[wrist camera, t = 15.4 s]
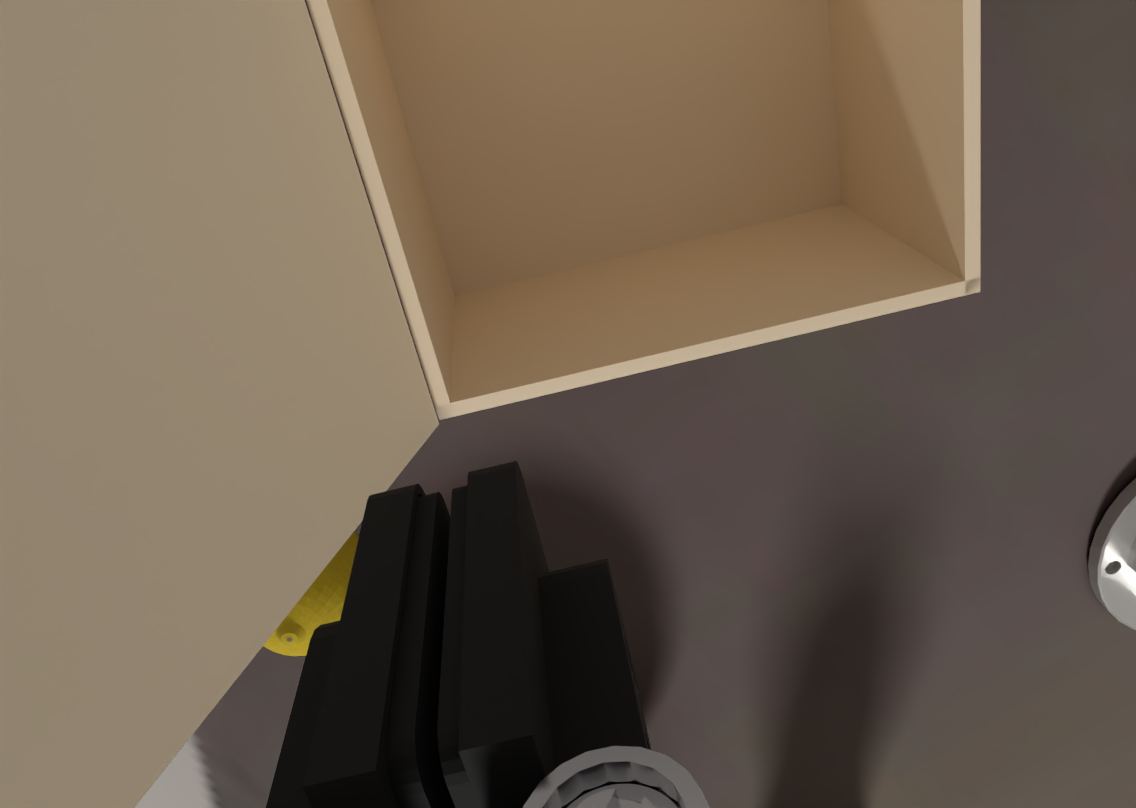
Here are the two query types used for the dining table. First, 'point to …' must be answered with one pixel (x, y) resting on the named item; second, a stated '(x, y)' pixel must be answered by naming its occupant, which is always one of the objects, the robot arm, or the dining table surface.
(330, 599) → the lemon
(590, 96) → the carton
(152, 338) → the carton lid
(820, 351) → the dining table surface
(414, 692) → the robot arm
